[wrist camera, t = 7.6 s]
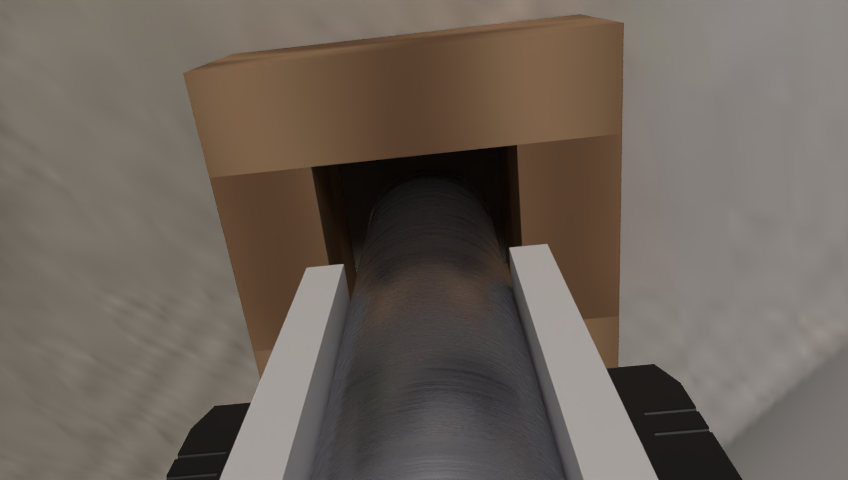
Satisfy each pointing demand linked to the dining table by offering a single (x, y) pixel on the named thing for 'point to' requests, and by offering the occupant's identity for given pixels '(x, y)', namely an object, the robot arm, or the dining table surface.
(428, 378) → the steel round rod
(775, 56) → the dining table surface
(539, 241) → the wooden square frame
